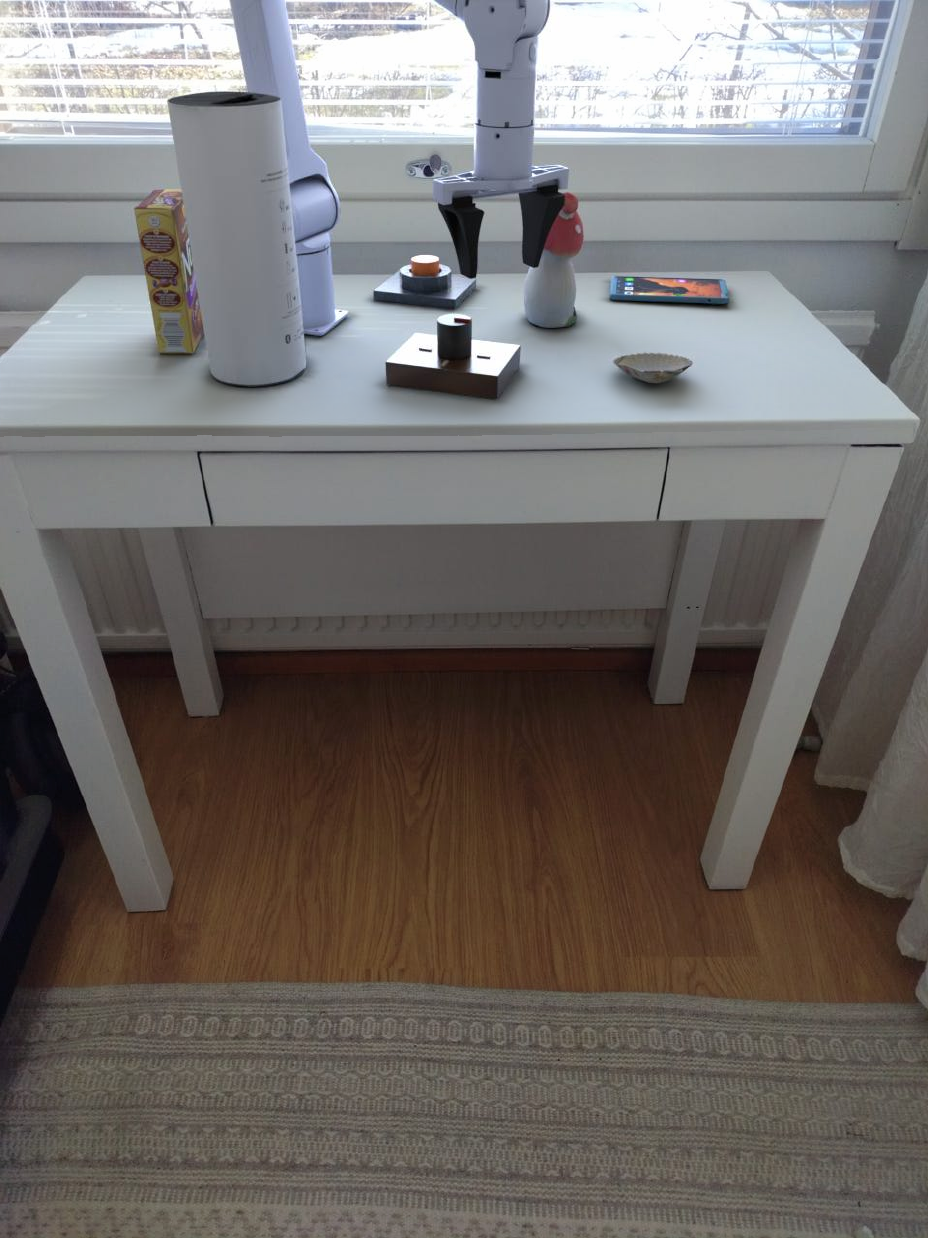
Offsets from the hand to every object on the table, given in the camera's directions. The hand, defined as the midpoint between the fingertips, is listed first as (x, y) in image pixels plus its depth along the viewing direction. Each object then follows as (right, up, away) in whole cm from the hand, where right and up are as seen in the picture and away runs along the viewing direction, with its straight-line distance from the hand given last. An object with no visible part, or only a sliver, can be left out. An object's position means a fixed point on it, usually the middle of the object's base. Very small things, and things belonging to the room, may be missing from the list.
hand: (499, 270), depth 95 cm
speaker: (-26, -9, +4) cm, 28 cm away
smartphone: (+23, +6, +25) cm, 35 cm away
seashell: (+16, -11, +3) cm, 20 cm away
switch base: (-9, +6, +24) cm, 27 cm away
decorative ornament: (+7, 0, +17) cm, 18 cm away
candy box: (-36, -4, +11) cm, 37 cm away
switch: (-9, +8, +23) cm, 26 cm away
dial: (-5, -8, +1) cm, 10 cm away
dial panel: (-5, -10, +3) cm, 12 cm away
